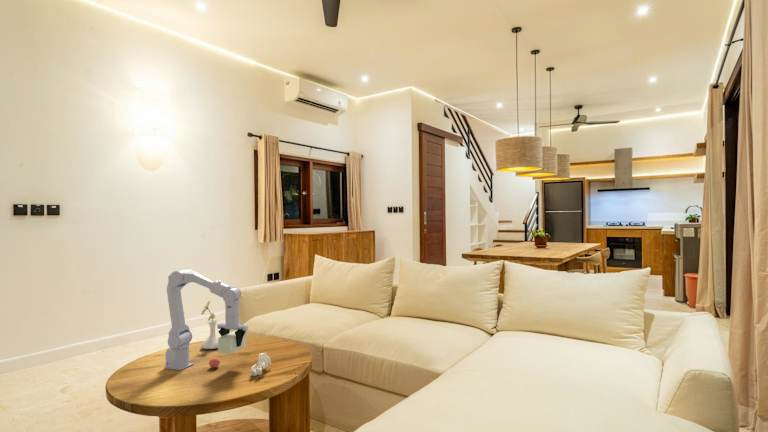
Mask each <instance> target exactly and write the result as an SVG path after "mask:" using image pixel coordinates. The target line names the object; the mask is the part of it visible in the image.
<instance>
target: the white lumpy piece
mask: <svg viewBox="0 0 768 432" xmlns="http://www.w3.org/2000/svg"><path fill="white" fill-rule="evenodd" d="M269 365H270V366H272V360H271V357H269V356H268V354H267V351H266V352H262V353H258V358H257V363H255V364H254V365H252V366H251V369H250V374H251V376H252V377H257V375H258V376H261V375H262V374H263V371H262V370H263V369H267V368H268V367H269Z"/></svg>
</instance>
